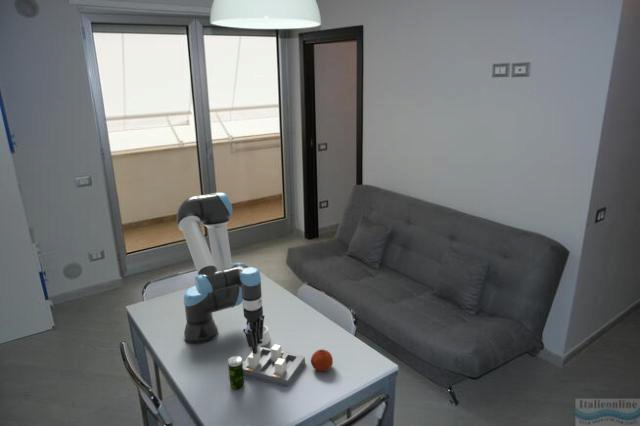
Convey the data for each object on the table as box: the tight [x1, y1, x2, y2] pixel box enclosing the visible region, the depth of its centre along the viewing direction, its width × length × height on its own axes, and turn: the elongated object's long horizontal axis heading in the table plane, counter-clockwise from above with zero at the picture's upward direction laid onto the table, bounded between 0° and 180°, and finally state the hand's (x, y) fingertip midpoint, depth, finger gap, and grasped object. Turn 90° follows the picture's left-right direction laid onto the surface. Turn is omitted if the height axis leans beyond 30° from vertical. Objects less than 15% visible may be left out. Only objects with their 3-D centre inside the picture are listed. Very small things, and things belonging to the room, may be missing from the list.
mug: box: [260, 324, 271, 347], centre depth 204 cm, size 12×10×6 cm
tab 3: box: [275, 358, 286, 377], centre depth 177 cm, size 3×4×6 cm
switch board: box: [242, 346, 306, 387], centre depth 184 cm, size 22×16×3 cm
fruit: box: [310, 348, 334, 372], centre depth 182 cm, size 9×9×8 cm
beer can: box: [227, 355, 245, 392], centre depth 173 cm, size 5×5×12 cm
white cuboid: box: [270, 343, 283, 362], centre depth 187 cm, size 3×4×6 cm
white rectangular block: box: [247, 351, 260, 370], centre depth 182 cm, size 3×4×6 cm
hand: (257, 358), depth 184 cm, fingers closed
